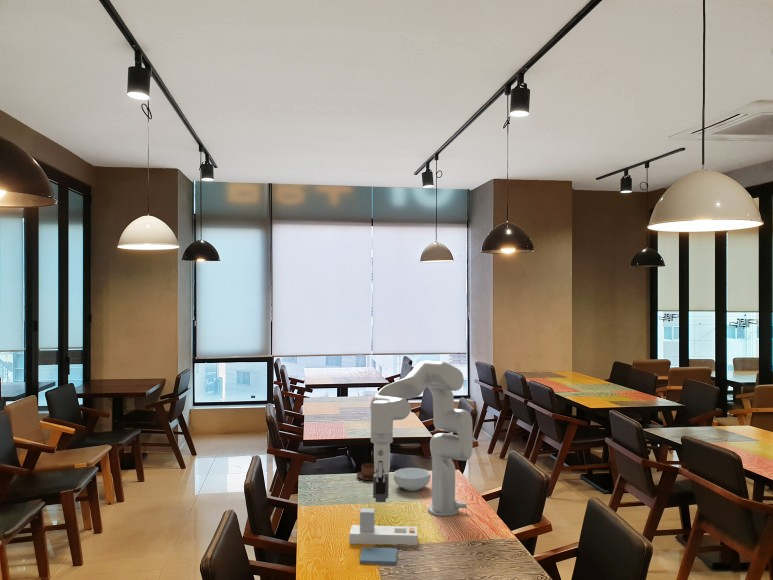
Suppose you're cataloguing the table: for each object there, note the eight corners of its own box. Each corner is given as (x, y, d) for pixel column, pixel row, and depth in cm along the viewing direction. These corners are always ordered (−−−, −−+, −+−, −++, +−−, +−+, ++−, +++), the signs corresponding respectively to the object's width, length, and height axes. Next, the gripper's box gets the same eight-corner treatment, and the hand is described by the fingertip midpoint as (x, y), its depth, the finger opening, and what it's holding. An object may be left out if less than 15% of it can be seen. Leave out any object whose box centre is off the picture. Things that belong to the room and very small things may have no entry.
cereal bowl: (412, 480, 280) (412, 465, 280) (437, 488, 267) (437, 473, 267) (385, 487, 268) (386, 472, 268) (411, 496, 256) (411, 480, 256)
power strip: (417, 536, 214) (417, 525, 214) (417, 545, 206) (417, 533, 206) (351, 534, 215) (351, 523, 215) (349, 543, 207) (349, 532, 207)
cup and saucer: (359, 473, 289) (359, 461, 289) (383, 475, 287) (383, 462, 287) (354, 481, 277) (354, 468, 277) (379, 482, 276) (379, 469, 276)
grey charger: (374, 531, 212) (374, 508, 212) (373, 536, 208) (374, 512, 208) (360, 531, 213) (361, 508, 213) (359, 535, 209) (360, 512, 209)
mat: (396, 551, 201) (396, 548, 201) (396, 564, 191) (396, 561, 191) (362, 550, 201) (362, 547, 202) (359, 563, 192) (359, 560, 192)
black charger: (388, 498, 199) (388, 473, 199) (387, 502, 195) (388, 477, 195) (373, 498, 200) (374, 473, 200) (373, 502, 196) (373, 476, 196)
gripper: (391, 443, 189) (391, 500, 189) (393, 432, 206) (392, 484, 206) (368, 443, 190) (368, 499, 189) (372, 431, 206) (371, 483, 206)
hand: (380, 491), depth 197 cm, fingers closed on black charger, 4 cm apart
